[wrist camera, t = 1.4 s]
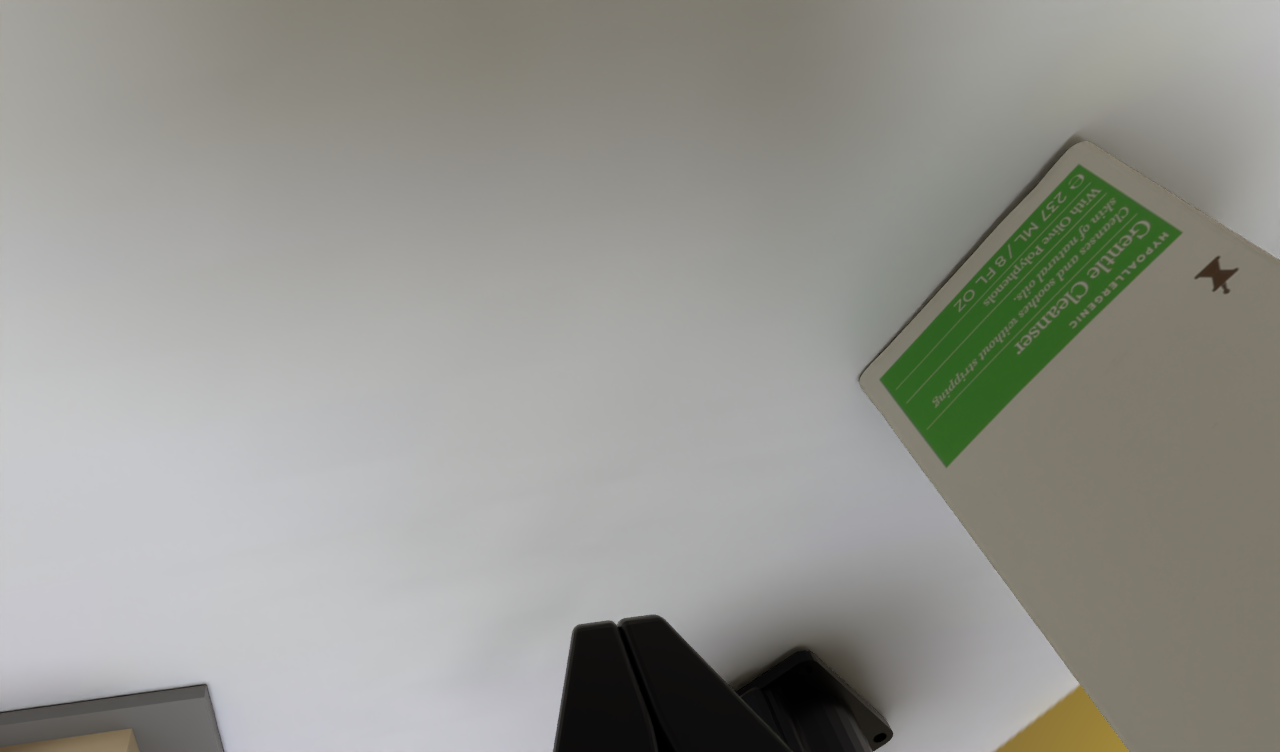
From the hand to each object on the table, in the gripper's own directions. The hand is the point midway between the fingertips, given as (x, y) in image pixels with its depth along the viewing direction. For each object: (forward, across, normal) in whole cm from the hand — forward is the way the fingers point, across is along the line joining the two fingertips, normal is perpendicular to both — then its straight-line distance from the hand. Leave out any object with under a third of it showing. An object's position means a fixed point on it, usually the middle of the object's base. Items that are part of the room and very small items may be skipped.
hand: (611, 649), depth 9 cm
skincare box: (+13, -14, +5) cm, 20 cm away
